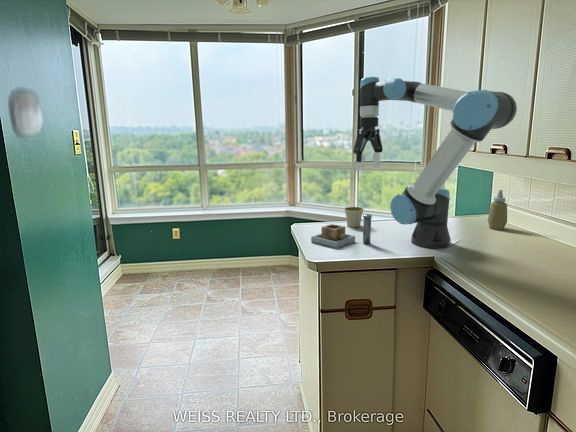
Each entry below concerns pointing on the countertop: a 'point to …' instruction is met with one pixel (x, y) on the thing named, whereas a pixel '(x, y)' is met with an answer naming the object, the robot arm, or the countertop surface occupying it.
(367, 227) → the post
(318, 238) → the tray
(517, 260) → the countertop surface
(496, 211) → the squeeze bottle
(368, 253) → the countertop surface
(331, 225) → the brown wooden box
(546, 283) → the countertop surface
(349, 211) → the flower pot
